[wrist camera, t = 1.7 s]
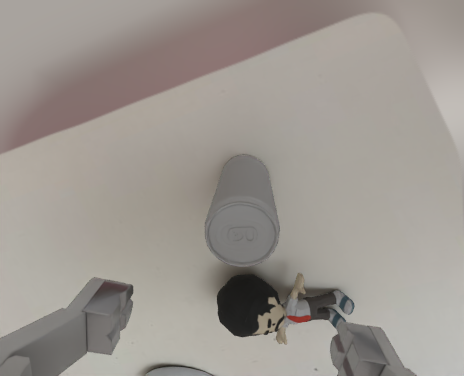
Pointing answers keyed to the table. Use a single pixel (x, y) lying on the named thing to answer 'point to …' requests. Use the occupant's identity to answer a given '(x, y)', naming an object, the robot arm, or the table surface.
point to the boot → (176, 372)
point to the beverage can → (243, 214)
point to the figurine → (273, 307)
